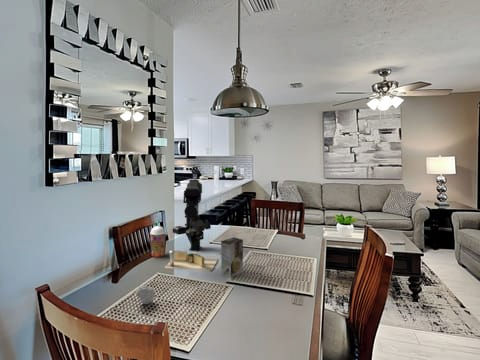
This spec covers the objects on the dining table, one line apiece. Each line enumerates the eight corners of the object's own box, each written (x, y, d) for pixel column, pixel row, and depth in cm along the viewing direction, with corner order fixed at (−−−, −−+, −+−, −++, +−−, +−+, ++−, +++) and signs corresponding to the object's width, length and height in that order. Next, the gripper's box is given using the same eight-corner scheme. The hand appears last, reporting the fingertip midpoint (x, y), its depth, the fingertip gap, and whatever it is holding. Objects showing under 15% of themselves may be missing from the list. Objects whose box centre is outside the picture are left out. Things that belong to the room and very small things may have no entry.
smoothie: (149, 259, 155) (149, 223, 154) (150, 254, 163) (149, 220, 162) (165, 258, 157) (165, 222, 156) (165, 253, 165) (165, 219, 164)
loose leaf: (196, 261, 150) (196, 253, 150) (204, 266, 144) (204, 257, 143) (193, 262, 149) (193, 253, 149) (201, 267, 143) (201, 258, 142)
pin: (170, 264, 146) (170, 250, 146) (175, 264, 146) (175, 250, 146) (168, 266, 144) (168, 251, 143) (173, 266, 143) (173, 251, 143)
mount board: (174, 258, 158) (174, 256, 158) (218, 260, 156) (218, 258, 156) (164, 268, 142) (164, 267, 142) (211, 271, 140) (211, 270, 140)
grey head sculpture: (133, 303, 108) (132, 285, 107) (150, 297, 113) (150, 280, 112) (140, 309, 103) (140, 291, 103) (158, 303, 108) (158, 285, 108)
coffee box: (233, 268, 143) (233, 236, 142) (243, 272, 139) (243, 239, 138) (220, 274, 136) (220, 240, 135) (230, 278, 132) (231, 243, 131)
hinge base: (175, 258, 156) (175, 249, 155) (198, 259, 154) (198, 250, 154) (171, 261, 150) (171, 252, 150) (195, 263, 149) (195, 253, 149)
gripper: (184, 218, 129) (184, 253, 130) (217, 213, 141) (217, 245, 142) (171, 215, 137) (172, 247, 138) (204, 210, 149) (204, 240, 150)
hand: (192, 245), depth 142 cm, fingers closed
